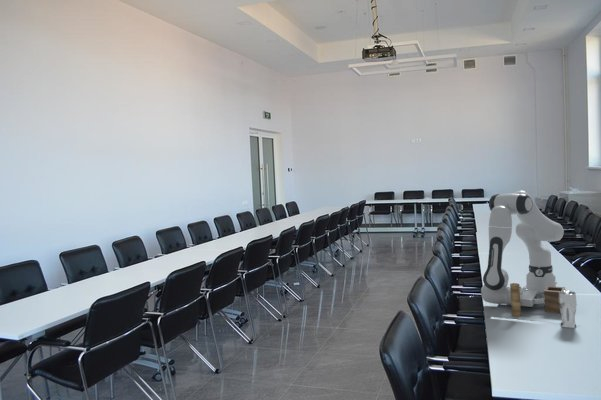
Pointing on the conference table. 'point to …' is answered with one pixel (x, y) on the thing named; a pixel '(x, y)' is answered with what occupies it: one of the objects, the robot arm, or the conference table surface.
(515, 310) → the dowel
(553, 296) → the socket block
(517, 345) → the conference table surface
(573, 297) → the beer glass
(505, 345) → the conference table surface
